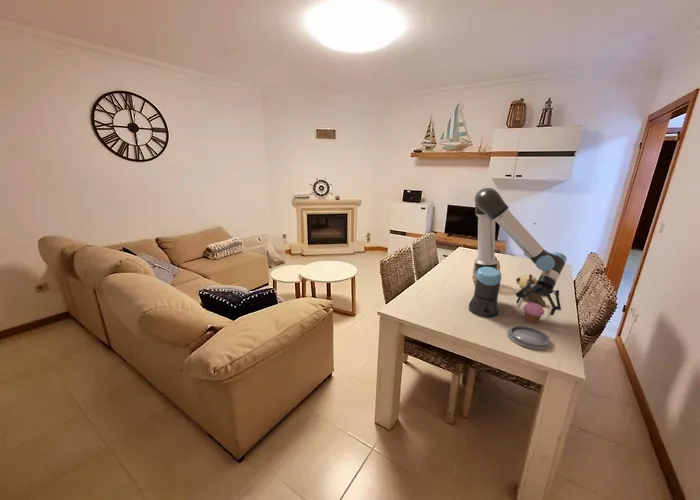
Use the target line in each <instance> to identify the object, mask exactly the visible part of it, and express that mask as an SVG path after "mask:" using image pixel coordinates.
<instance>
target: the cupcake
mask: <svg viewBox="0 0 700 500" xmlns="http://www.w3.org/2000/svg"><path fill="white" fill-rule="evenodd" d="M522 308H523V312H524V319H525V320H526V321H527V322H528V323H529V324H539V321H540V320H541V317H542V316H543V315H545V310H544V308H543V307H542V306H541V305H539V304H537V303H532V302H531V303H528V302H526V304H525V305H523V307H522Z"/></svg>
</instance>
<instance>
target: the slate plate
mask: <svg viewBox="0 0 700 500" xmlns="http://www.w3.org/2000/svg"><path fill="white" fill-rule="evenodd" d="M506 335H507V338H508V339H509V340H510V341H512V343H514V344H516V345H518V346H520V347H523V348H525V349H528V350H534V351H546V350H548V349H550V348H551V345H552V341H551V338H550V336H549V335H548V334H546V333H545V332H544V331H543V330H541V329H537V328H536V327H533V326H529V325H524V324H523V325H522V324H514V325H512V326H510V327H508V330H507V334H506Z"/></svg>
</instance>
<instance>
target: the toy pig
mask: <svg viewBox="0 0 700 500" xmlns="http://www.w3.org/2000/svg"><path fill="white" fill-rule="evenodd" d="M529 275H530V274H527V275H520V276H518V277H516V278H515V283H516V284H517V285H518V286H519V288H520V290H521V289H523V288H524V287H526V286H527V284H526V282H527V280H528V279H529ZM532 280H533V281H534V283H535V284H536V283H537V281H538V279H537V278H536V277H535V276H533V275H532Z"/></svg>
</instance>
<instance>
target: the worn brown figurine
mask: <svg viewBox="0 0 700 500" xmlns="http://www.w3.org/2000/svg"><path fill="white" fill-rule="evenodd" d="M528 275H529V279H528V280H527V282H526V284H527V285H528V284H529V282H531V283H532V284H534V285H535V283H534V281H533V280H532V276H533V275H532V274H528ZM532 289H534V287H532V288H530V289H529V290H528V291H531V290H532ZM528 291H526V292H528ZM526 292H525V293H526ZM523 302H525V303H531V302H532V303H537V304H539V305H541V306H542V308H543V307H545V306H546V301H545V300H544V299H543V296H542V295H538V294H537V293H536V294H533V295H530V296H528V297H526V298H523Z"/></svg>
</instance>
